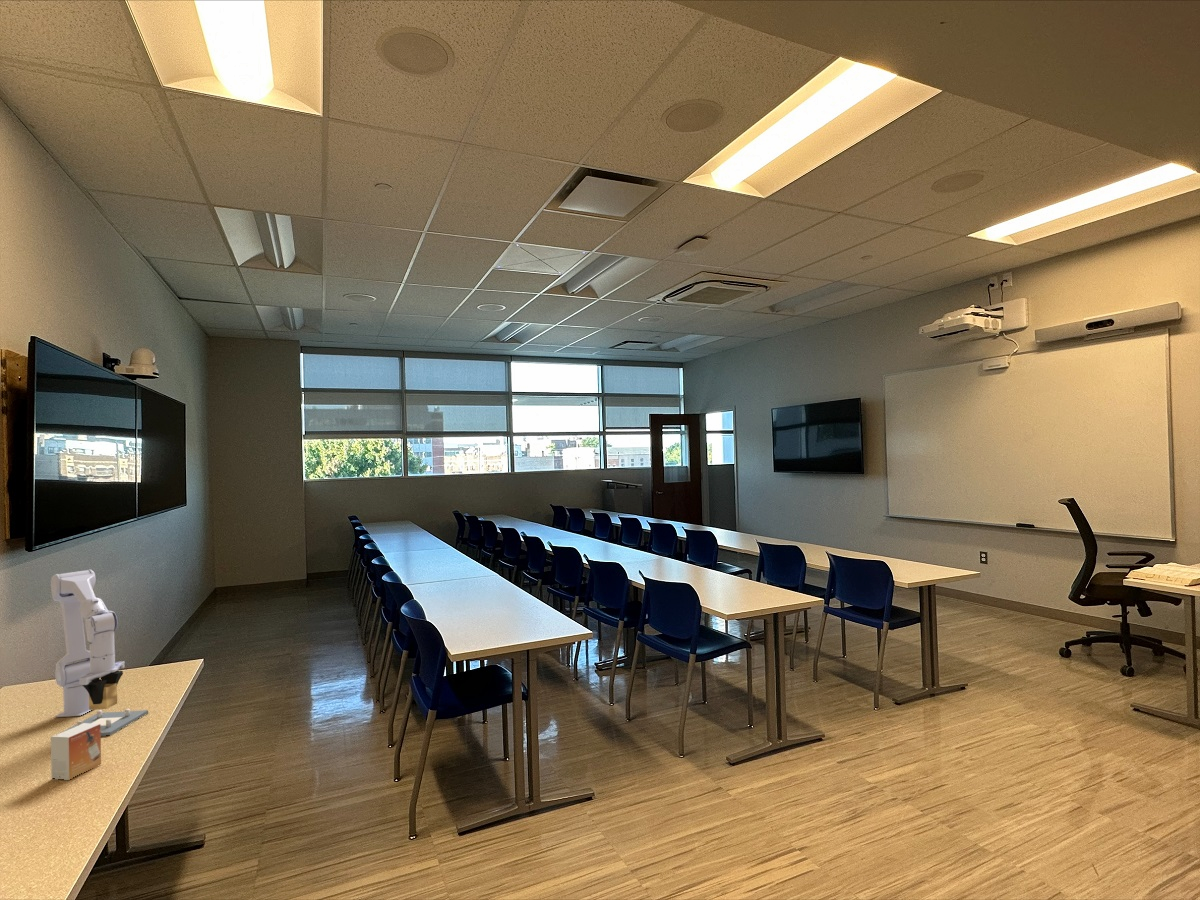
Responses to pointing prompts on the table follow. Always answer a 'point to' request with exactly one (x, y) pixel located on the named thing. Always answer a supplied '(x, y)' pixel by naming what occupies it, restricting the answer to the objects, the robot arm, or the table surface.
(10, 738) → the table surface
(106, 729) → the pin board
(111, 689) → the ochre block
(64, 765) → the small box
